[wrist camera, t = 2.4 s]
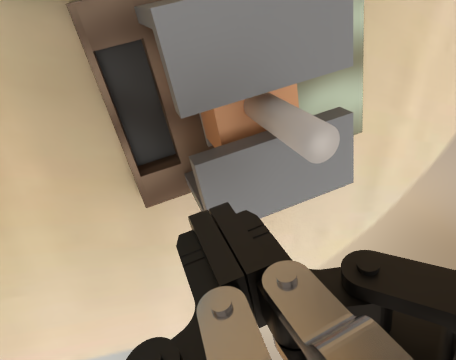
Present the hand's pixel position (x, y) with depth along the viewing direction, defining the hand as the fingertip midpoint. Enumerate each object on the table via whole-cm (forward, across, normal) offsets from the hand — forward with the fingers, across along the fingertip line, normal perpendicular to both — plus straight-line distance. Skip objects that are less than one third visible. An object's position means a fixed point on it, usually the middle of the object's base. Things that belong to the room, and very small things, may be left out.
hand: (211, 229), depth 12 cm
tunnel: (+16, -7, 0) cm, 17 cm away
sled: (+16, -7, 0) cm, 17 cm away
